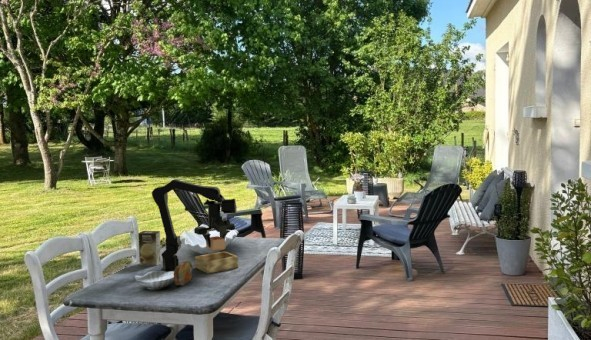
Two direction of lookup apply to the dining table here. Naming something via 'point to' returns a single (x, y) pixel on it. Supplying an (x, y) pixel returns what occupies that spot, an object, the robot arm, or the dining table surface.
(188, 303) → the dining table surface
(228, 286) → the dining table surface
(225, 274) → the dining table surface
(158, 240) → the coffee box
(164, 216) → the robot arm
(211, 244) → the terracotta crate
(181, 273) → the tin
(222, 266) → the pine crate
